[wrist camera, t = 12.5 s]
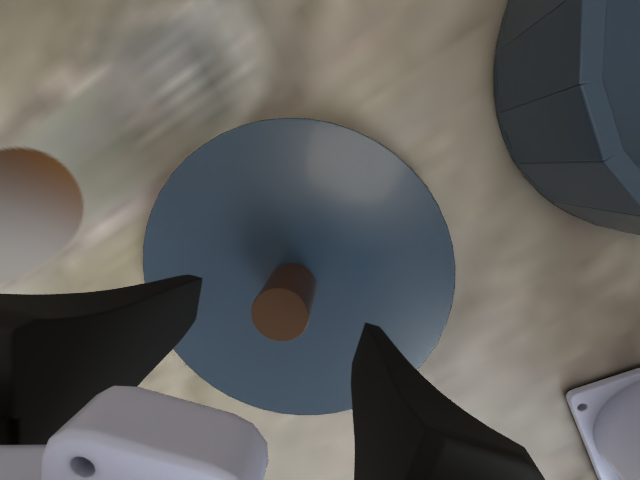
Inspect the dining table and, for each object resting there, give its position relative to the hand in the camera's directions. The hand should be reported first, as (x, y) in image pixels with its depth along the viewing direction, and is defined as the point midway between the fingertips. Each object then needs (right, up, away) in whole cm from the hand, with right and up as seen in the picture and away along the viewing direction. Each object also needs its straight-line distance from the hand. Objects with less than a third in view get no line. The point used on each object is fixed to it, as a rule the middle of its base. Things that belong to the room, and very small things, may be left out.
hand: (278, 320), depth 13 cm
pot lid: (0, +1, +4) cm, 4 cm away
